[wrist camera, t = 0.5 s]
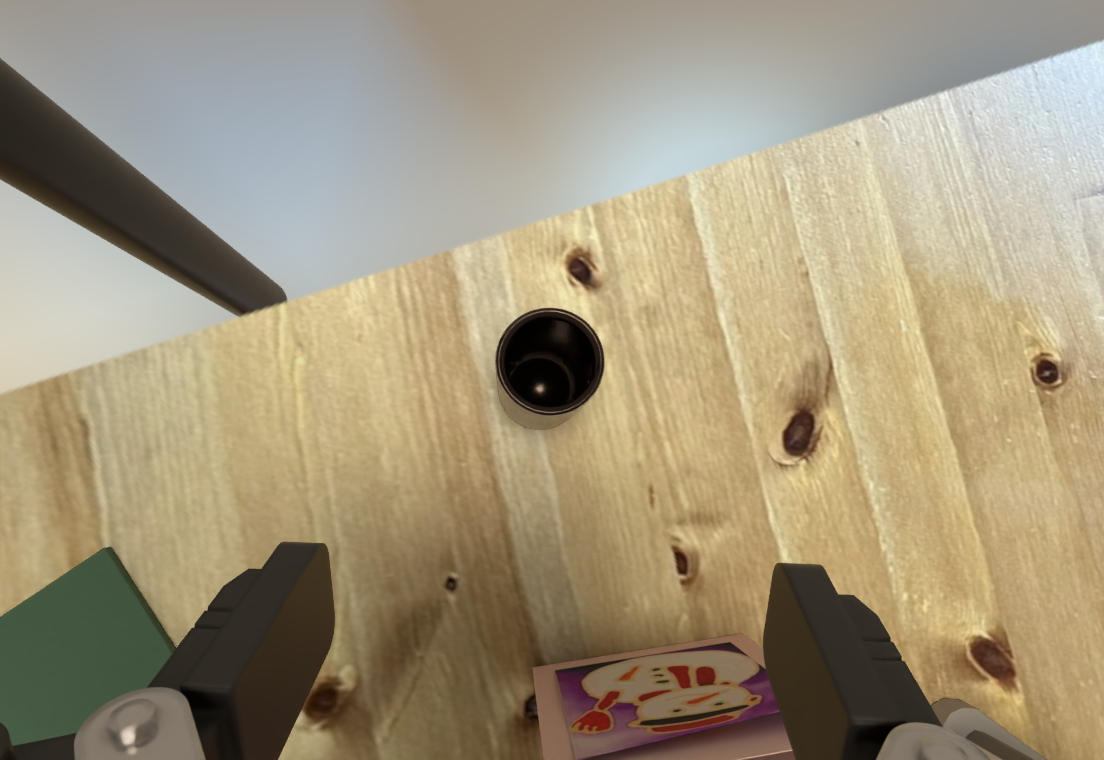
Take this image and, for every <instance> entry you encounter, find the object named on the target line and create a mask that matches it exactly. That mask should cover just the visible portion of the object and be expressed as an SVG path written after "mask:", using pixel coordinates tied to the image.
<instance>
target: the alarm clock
mask: <svg viewBox="0 0 1104 760" xmlns="http://www.w3.org/2000/svg"><path fill="white" fill-rule="evenodd" d="M931 707H932V709H933V711H934V712H935V714H936V716H937V718H938V719H939V721H940V723H941V724H942V726H943V728H946V729H948V730H951V731H953V732H955V733H957V734H959V735H961V736H963V737H964V738H966V739H967V740H969V741H970V742H972V743H973V744H975V745H976V746H977V747H978V748H979V749H981V750H982V751H983V752H984V753H985V754H986V755H987V756H988V758H989V759H990V760H1046V759H1045V758H1043V757H1042V756H1041V755H1039V754H1038V753H1037V752H1035V751H1034V750H1032V749H1031V748H1030V747H1028V746H1027V745H1026V744H1024V743H1023V742H1022V741H1020V740H1019V739H1018V738H1016V737H1015V736H1013V735H1012V734H1011V733H1009V732H1008V731H1007V730H1005V729H1004V728H1003V727H1001V726H1000V725H999V724H997V723H996V722H994V721H993V720H992V719H990V718H989V717H988V716H986V715H985V714H984V713H982V712H981V711H979V710H978V709H976V708H975V707H973V706H971V705H969V704H967V703H965V702H963V701H961V700H958V699H946V698H944V699H942V700H940V701H938V702H936V703H934V704H932V706H931Z"/></svg>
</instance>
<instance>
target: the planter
mask: <svg viewBox="0 0 1104 760" xmlns="http://www.w3.org/2000/svg"><path fill="white" fill-rule="evenodd" d="M604 363H605V362H604V352H603V348H602V345H601V342H600V340H599V338H598V336H597V334H596V333H595V331H594V330H593V328H592V327H591V326H590V325H589V324H588V323H587V322H586V321H585V320H583V319H582V318H581V317H579V316H577V315H576V314H574V313H572V312H569V311H566V310H563V309H558V308H541V309H536V310H533V311H530V312H527V313H525V314H523V315H522V316H520V317H518V318H517V319H516V320H514V321H513V322H512V323H511V324H510V325H509V326H508V328H507V329H506V330H505V331H504V333H503V335H502V337H501V338H500V341H499V343H498V346H497V350H496V357H495V367H496V377H497V386H498V394H499V399H500V402H501V404H502V407H503V408H504V410H505V412H506V413H507V414H508V415H509V417H510V418H511V419H513V420H514V421H515V422H517V423H518V424H520V425H522V426H524V427H527V428H530V429H536V430H543V429H549V428H553V427H556V426H558V425H560V424H562V423H563V422H565V421H566V420H567V419H568V418H569V417H571V416H572V415H573V414H574V413H575V412H576V411H577V410H579V409H580V408H581V407H582V406H583V405H584V404H585V403H587V402H588V401H589V400H590V399H591V397H592V396H593V395H594V394H595V392H596V391H597V389H598V387H599V385H600V383H601V380H602V377H603V373H604Z"/></svg>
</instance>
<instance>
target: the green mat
mask: <svg viewBox="0 0 1104 760" xmlns="http://www.w3.org/2000/svg"><path fill="white" fill-rule="evenodd" d="M175 650H176V648H175V647H174V645H173V644H172V642H171V641H170V639H169V637H168V636H167V634H166V633H165V631H164V630H163V628H162V627H161V625H160V623H159V622H158V620H157V619H156V617H155V616H154V614H153V612H152V611H151V609H150V608H149V606H148V605H147V603H146V602H145V600H144V598H143V597H142V595H141V594H140V592H139V591H138V589H137V588H136V586H135V584H134V583H133V581H132V580H131V578H130V577H129V575H128V574H127V572H126V570H125V569H124V567H123V566H122V564H121V563H120V561H119V560H118V558H117V556H116V555H115V553H114V552H113V550H112V549H111V547H107V548H103V549H102V550H100V551H99V552H97V553H96V554H94V555H93V556H91V557H90V558H88V559H87V560H85V561H84V562H82V563H81V564H79V565H78V566H76V567H75V568H73V569H72V570H70V571H69V572H67V573H66V574H64V575H63V576H61V577H60V578H58V579H57V580H55V581H54V582H52V583H51V584H49V585H48V586H46V587H45V588H43V589H42V590H40V591H39V592H37V593H36V594H34V595H33V596H31V597H30V598H28V599H27V600H25V601H24V602H22V603H21V604H19V605H18V606H16V607H15V608H13V609H12V610H10V611H9V612H7V613H6V614H4V615H3V616H1V617H0V723H2V724H3V725H4V726H5V727H6V728H7V730H8V732H9V735H10V738H11V741H12V745H13V746H15V745H20V744H25V743H29V742H34V741H39V740H44V739H49V738H54V737H59V736H64V735H69V734H73V733H77V732H78V730H79V729H80V727H81V726H82V724H83V723H84V722H85V720H86V719H87V718H88V717H89V716H90V715H91V714H92V713H94V712H95V711H96V710H97V709H99V708H100V707H101V706H103V705H104V704H106V703H108V702H109V701H111V700H113V699H115V698H117V697H119V696H121V695H124V694H126V693H129V692H132V691H135V690H139V689H144V688H147V687H148V685H149V684H150V683H151V681H152V680H153V679H154V677H155V676H156V675H157V673H158V672H159V671H160V669H161V668H162V667H163V665H164V664H165V663H166V661H167V660H168V659H169V658H170V656H171V655H172V654H173V652H174V651H175Z"/></svg>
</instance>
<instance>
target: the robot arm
mask: <svg viewBox="0 0 1104 760" xmlns="http://www.w3.org/2000/svg"><path fill="white" fill-rule="evenodd" d="M334 626H335V611H334V600H333V590H332V580H331V570H330V560H329V552H328V548H327V546H326V545H325V544H324V543H304V542H281V543H280V544H279V545H278V546H277V548H276V549H275V551H274V552H273V553H272V555H271V556H270V558H269V559H268V561H267V562H266V563H265V565H264V566H263V568H262V569H248V570H246V571H245V572H243V573H242V574H240V575H239V576H237V577H236V578H235V579H233V580H232V581H230V582H229V583H227V584H226V585H224V586H223V588H222V589H221V590H220V592H219V593H218V594H217V595H216V597H215V598H214V599H213V601H212V602H211V603H210V605H209V606H208V610H207V611H204V613H203V614H202V615H201V617H200V618H199V619H198V621H197V622H196V623H195V628H191V630H190V631H189V632H188V634H187V635H186V636H185V638H184V639H183V640H182V642H181V643H180V644H179V646H178V647H177V648H176V650H175V651H174V652H173V654H172V655H171V656H170V658H169V659H168V660H167V661H166V663H165V664H164V665H163V667H162V668H161V669H160V671H159V672H158V673H157V675H156V676H155V677H154V679H153V680H152V681H151V683H150V684H149V685H148V687H147V688H144V689H139V690H135V691H132V692H129V693H126V694H124V695H121V696H119V697H117V698H115V699H113V700H111V701H109V702H108V703H106V704H104V705H103V706H101V707H100V708H99V709H97V710H96V711H95V712H94V713H92V714H91V715H90V716H89V717H88V718H87V719H86V720H85V722H84V723H83V724H82V726H81V727H80V729H79V730H78V732H77V733H73V734H69V735H64V736H59V737H54V738H49V739H44V740H39V741H34V742H29V743H25V744H20V745H15V746H13V745H12V741H11V738H10V735H9V732H8V730H7V728H6V727H5V726H4V725H3V724H2V723H0V760H278V758H279V756H280V754H281V752H282V750H283V747H284V745H285V743H286V741H287V739H288V737H289V735H290V733H291V730H292V728H293V726H294V724H295V722H296V720H297V718H298V716H299V713H300V711H301V709H302V707H303V705H304V703H305V701H306V699H307V696H308V694H309V692H310V690H311V688H312V686H313V684H314V682H315V679H316V677H317V675H318V673H319V671H320V669H321V667H322V665H323V662H324V660H325V658H326V656H327V654H328V652H329V649H330V646H331V643H332V639H333V634H334ZM763 653H764V662H765V667H766V672H767V675H768V678H769V681H770V684H771V687H772V690H773V693H774V696H775V699H776V702H777V705H778V708H779V711H780V714H781V717H782V720H783V723H784V726H785V729H786V732H787V735H788V738H789V741H790V744H791V747H792V750H793V753H794V756H795V759H796V760H990V759H989V758H988V756H987V755H986V754H985V753H984V752H983V751H982V750H981V749H979V748H978V747H977V746H976V745H975V744H973V743H972V742H970V741H969V740H967V739H966V738H964V737H963V736H961V735H959V734H957V733H955V732H953V731H951V730H948V729H946V728H943V726H942V724H941V723H940V721H939V719H938V718H937V716H936V714H935V712H934V711H933V709H932V707H931V706H930V704H929V702H928V701H927V699H926V697H925V695H924V694H923V692H922V690H921V689H920V687H919V685H918V684H917V682H916V680H915V679H914V677H913V675H912V673H911V672H910V670H909V668H908V667H907V665H906V663H905V662H904V661H902V659H901V657H902V656H901V655H900V653H899V651H898V650H897V648H896V646H895V645H894V643H893V642H891V640H890V636H889V634H888V633H887V631H886V629H885V628H884V626H883V624H882V622H881V621H880V619H879V617H878V616H877V615H876V614H875V613H874V612H873V611H872V610H870V609H869V608H868V607H867V606H866V605H865V604H863V603H862V602H861V601H860V600H859V599H857V598H856V597H855V596H854V595H838V593H837V592H836V590H835V588H834V586H833V584H832V582H831V580H830V578H829V577H828V575H827V573H826V571H825V569H824V568H823V567H822V566H821V565H816V564H791V563H777V564H776V565H775V568H774V571H773V575H772V582H771V589H770V595H769V602H768V608H767V615H766V622H765V628H764V636H763Z"/></svg>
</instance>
